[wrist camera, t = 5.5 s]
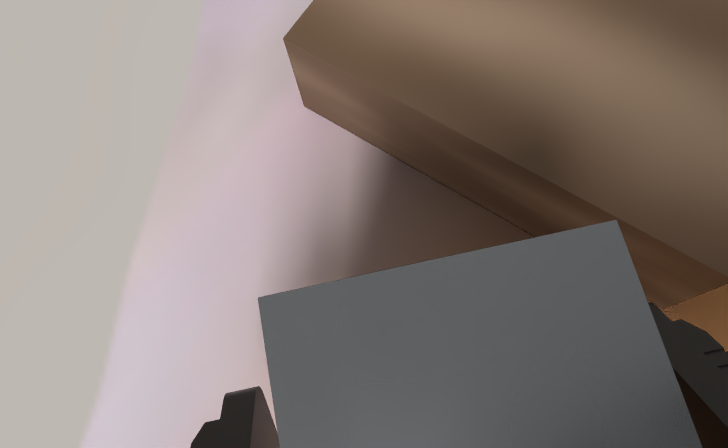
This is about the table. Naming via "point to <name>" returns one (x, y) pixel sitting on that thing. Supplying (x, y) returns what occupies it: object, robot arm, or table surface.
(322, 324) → the block
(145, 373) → the table surface
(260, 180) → the table surface
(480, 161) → the walnut stand
